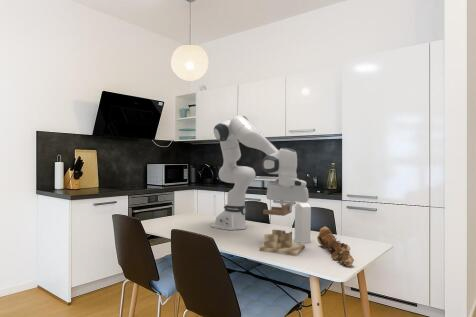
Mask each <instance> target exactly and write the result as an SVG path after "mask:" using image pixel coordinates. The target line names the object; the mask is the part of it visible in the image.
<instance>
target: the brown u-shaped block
mask: <svg viewBox="0 0 476 317" xmlns="http://www.w3.org/2000/svg"><path fill="white" fill-rule="evenodd" d="M290 205H291V204H290V202H288V203H285V204H284V205H283V206H271V209H263V212H262V214H263V215H269V216H272V215H273V216H283V217H285V216H287V215H289V214H291V213H292V212H293V211H292V210H293V209H292V210H291V211H288V207H290Z"/></svg>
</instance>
